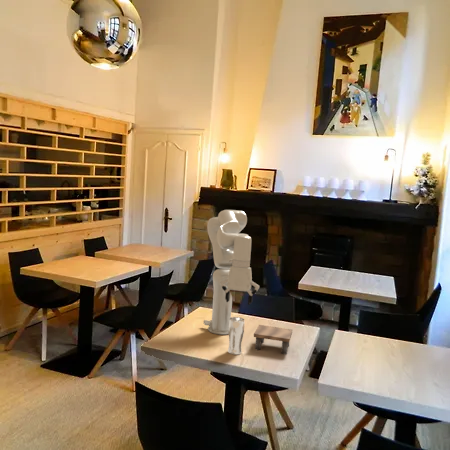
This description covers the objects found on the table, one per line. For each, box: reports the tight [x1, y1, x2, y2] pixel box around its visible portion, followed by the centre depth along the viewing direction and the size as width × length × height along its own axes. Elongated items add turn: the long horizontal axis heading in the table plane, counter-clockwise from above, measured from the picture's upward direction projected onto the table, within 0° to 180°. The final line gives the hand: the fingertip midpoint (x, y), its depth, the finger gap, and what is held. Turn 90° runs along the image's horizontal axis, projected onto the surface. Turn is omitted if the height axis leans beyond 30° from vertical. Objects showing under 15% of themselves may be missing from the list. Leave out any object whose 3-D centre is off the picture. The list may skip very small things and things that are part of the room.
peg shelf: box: [253, 324, 293, 355], centre depth 203 cm, size 16×14×8 cm
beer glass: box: [227, 316, 245, 356], centre depth 193 cm, size 7×7×15 cm
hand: (238, 302), depth 192 cm, fingers open, 9 cm apart
